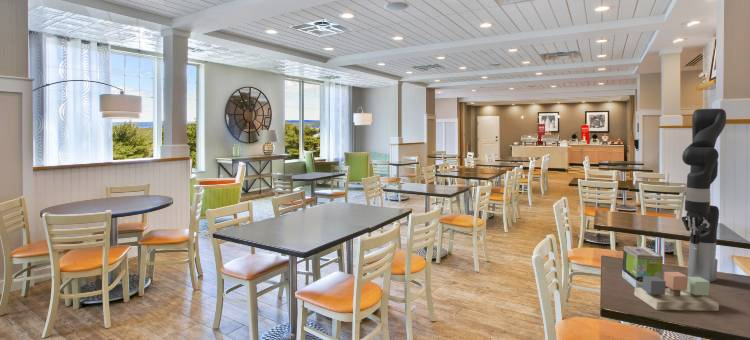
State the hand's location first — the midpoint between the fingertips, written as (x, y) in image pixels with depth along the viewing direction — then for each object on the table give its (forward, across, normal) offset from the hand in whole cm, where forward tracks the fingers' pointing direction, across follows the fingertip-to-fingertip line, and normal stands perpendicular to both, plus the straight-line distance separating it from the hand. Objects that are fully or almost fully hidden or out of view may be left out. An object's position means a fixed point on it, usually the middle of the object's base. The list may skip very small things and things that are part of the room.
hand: (694, 243), depth 158 cm
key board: (+22, -4, +9) cm, 24 cm away
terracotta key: (+16, -3, +9) cm, 19 cm away
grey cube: (+18, -3, +17) cm, 25 cm away
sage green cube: (+18, -4, +1) cm, 19 cm away
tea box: (+23, +16, +10) cm, 30 cm away
